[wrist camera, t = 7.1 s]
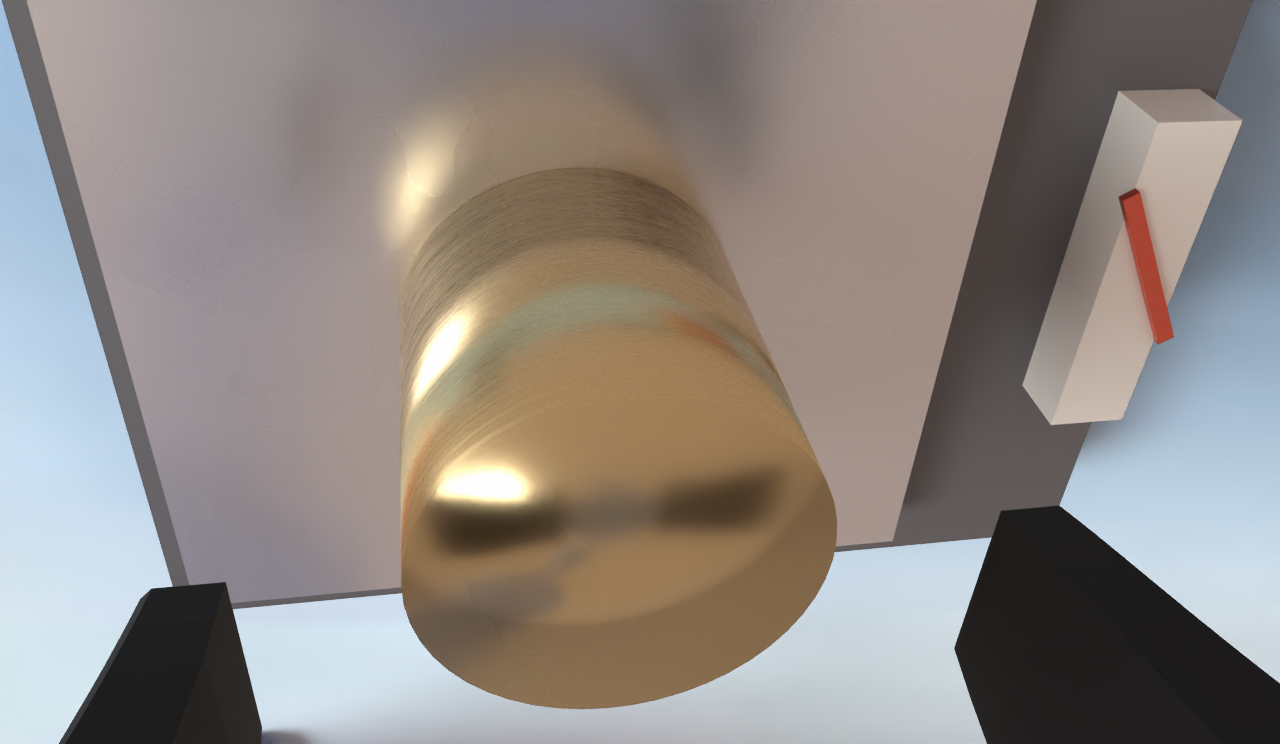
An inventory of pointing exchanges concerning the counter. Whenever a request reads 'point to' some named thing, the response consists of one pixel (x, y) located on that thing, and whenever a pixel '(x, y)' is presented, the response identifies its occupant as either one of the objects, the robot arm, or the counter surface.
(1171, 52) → the scale
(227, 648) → the robot arm
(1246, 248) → the counter surface
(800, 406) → the platform
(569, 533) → the cylinder
